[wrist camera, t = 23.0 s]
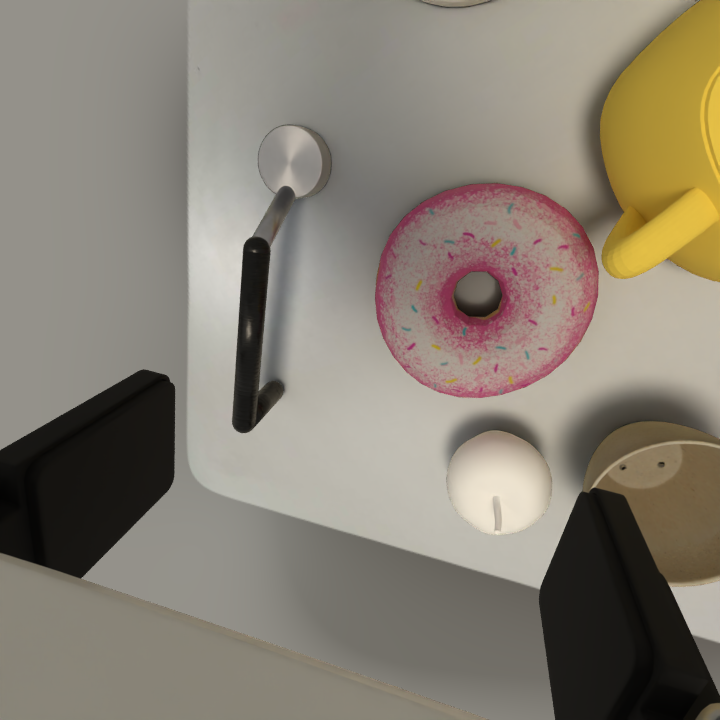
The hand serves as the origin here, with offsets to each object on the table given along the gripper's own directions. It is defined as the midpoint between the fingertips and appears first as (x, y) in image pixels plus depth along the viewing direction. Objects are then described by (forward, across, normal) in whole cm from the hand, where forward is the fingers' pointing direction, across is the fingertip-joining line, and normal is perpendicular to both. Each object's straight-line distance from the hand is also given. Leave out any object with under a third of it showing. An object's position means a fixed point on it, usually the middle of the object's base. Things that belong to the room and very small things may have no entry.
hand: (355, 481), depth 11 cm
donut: (+24, -3, 0) cm, 25 cm away
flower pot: (+24, -16, +9) cm, 31 cm away
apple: (+24, -7, +12) cm, 28 cm away
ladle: (+24, +11, +2) cm, 27 cm away
